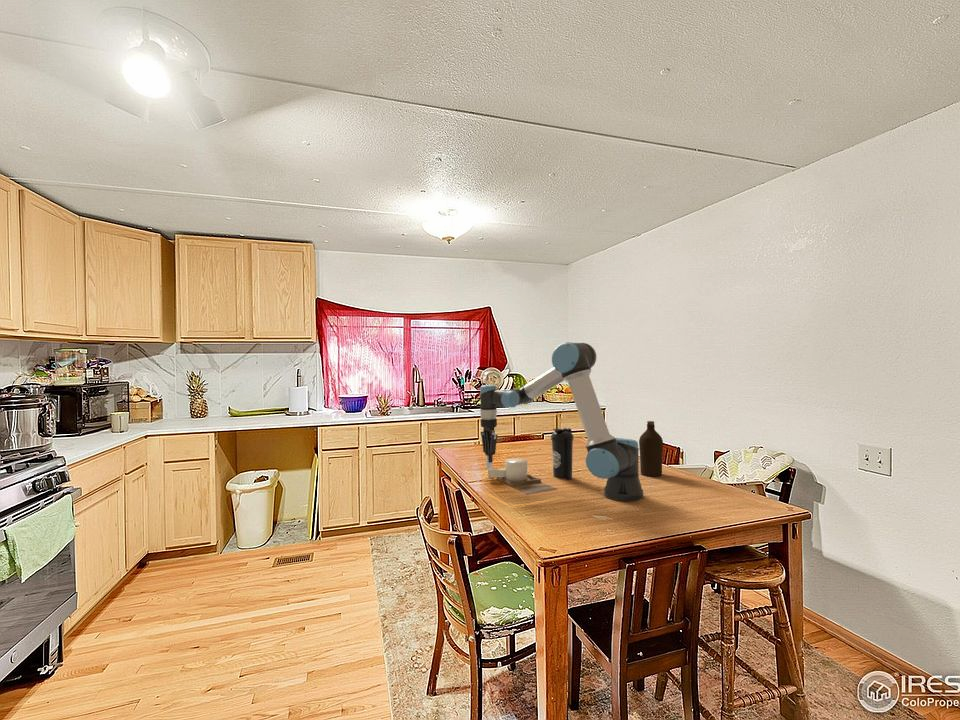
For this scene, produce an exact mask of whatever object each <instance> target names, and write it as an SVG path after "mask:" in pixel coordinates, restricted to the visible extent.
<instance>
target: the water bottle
mask: <svg viewBox="0 0 960 720" xmlns="http://www.w3.org/2000/svg"><path fill="white" fill-rule="evenodd" d="M550 440H551V447H552V448H551V451H552V452H551V453H552V454H551V456H552V472H553V475H552V476H553V477H554V478H556V479H565V480H567V481H571V480H572V479H573V451H574V450H573V449H574V448H573V446H574V444H573V443H574V435H573V433H572V428H570V427H564V428H553V432H552V433H551V435H550Z"/></svg>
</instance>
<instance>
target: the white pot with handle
mask: <svg viewBox="0 0 960 720" xmlns="http://www.w3.org/2000/svg"><path fill="white" fill-rule="evenodd" d="M527 474H528V460H527V459H524V458H508V459H506V460H504V468H493V469H487V478H497V477H505V479H507V480H509V481H511V482H513V483H515V482H521V481H528V478H527Z"/></svg>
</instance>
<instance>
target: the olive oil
mask: <svg viewBox="0 0 960 720" xmlns="http://www.w3.org/2000/svg"><path fill="white" fill-rule="evenodd" d="M646 422H647V424H646V430H645V431H644V432H643V433H642V434H641V435H640V437H639V440H638V448H639V462H640V463H639V464H640V475H642V476H644V477H651V478H657V477H661V476H663V453H664V451H663V449H664V442H663V438H662V436H661V435H660V433H658V432H657V431H656V429H655V428H656V427H655V421H652V420H648V421H646Z"/></svg>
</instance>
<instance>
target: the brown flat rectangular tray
mask: <svg viewBox="0 0 960 720" xmlns="http://www.w3.org/2000/svg"><path fill="white" fill-rule="evenodd" d="M527 478H528V481H521V482H515V483H513V482H511V481H509V480H507V479H505V477H496V480H497V481H499V482H501V483H503V484H505V485H507V486H509V487H511V488H513V489H516V490H517V491H519V492H521V493H523V494H526V495H533V494H539V493H544V492H545V493H546V492H550V491H555V490H558V488H556V487H553V486H552V485H549V484H547V483H544V482H542V479H541V478H539V477H537V476H535V475H532V474H529V473H527Z"/></svg>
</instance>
